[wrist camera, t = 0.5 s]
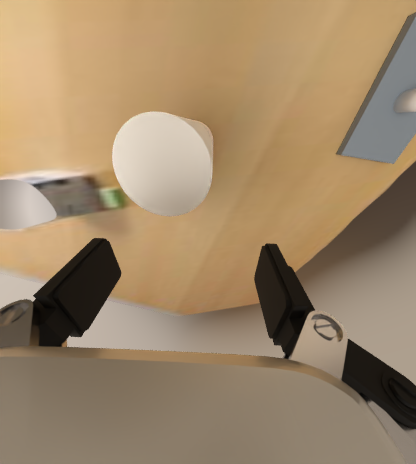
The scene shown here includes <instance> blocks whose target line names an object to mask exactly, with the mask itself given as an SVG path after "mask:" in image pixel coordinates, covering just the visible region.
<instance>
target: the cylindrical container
mask: <svg viewBox="0 0 416 464" xmlns="http://www.w3.org/2000/svg"><path fill="white" fill-rule="evenodd" d="M112 160H113V167H114V171H115V174H116V177H117V179H118V182H119V184H120V185H121V187H122V188H123V190H124V192H125V193H126V194H127V195H128V196H129V197H130V199H131V200H133V201H134V202H135V203H136V204H137V205H139V206H140V207H142V208H143V209H145V210H147V211H149V212H151V213H154V214H158V215H162V216H179V215H182V214H185V213H188V212H190V211H192V210H193V209H195V208H196V207H197V206H198V205H200V204H201V202H202V201H203V200H204V199H205V197H206V195H207V193H208V191H209V189H210V185H211V182H212V171H213V136H212V133H211V131H210V129H209V128H208V126H206V125H205V124H204V123H202V122H200V121H196V120H192V119H188V118H184V117H180V116H176V115H173V114H169V113H165V112H155V111H152V112H146V113H141V114H139V115H137V116H134V117H132V118H131V119H130V120H128V121H127V122H126V123H125V124H124V125H123V126H122V127H121V129H120V130H119V132H118V133H117V136H116V138H115V141H114V144H113V151H112Z"/></svg>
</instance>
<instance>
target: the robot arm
mask: <svg viewBox="0 0 416 464" xmlns="http://www.w3.org/2000/svg"><path fill="white" fill-rule="evenodd" d="M120 277H121V270H120V267H119V265H118V262H117V260H116V257H115V255H114V252H113V250H112V247H111V245H110V242H109V241H107V240H106V239H104V238H94V239H92V240H91V241H90V242H89V243H88V244H87V245H86V246H85V247H84V248H83V249H82V250H81V251H80V252H79V253H78V254H77V255H76V256H75V257H73V258H72V259H71V260H70V261H69V262H68V263H67V264H66V265H65V266H64V267H63V268H62V269H61V270H60V271H59V272H58V273H57V274H56V275H54V276H53V277H52V278H51V279H50V280H49V281H48V282H47V283H46V284H45V285H44V286H43V287H42V288H41V289H40V290H39V291H38V292H37V293H35V294H34V295H33V296H34V297H35V298H36V299H35V300H34V301H33V302H32V301H31V300H27V299H24V300H19V301H16V302H13V303H11V304H8V305H6V306H5V307H3V308H1V309H0V464H416V386H415V385H414V384H413V383H412V382H411V381H410V380H409V379H407V378H406V377H405V376H403V375H402V374H400V373H399V372H397V371H396V370H394V369H393V368H391V367H390V366H388V365H387V364H385V363H384V362H382V361H381V360H379V359H378V358H376V357H375V356H373V355H372V354H370V353H369V352H367V351H366V350H364V349H363V348H361V347H360V346H358V345H357V344H355V343H354V342H352V341H351V340H350V339H348V336H347V332H346V330H345V328H344V327H343V326H342V324H341V323H340V322H339V321H338V320H337V319H336V318H334V317H333V316H332V315H330V314H328V313H326V312H323V311H315V309H314V307H313V305H312V304H311V302H310V300H309V298H308V296H307V294H306V293H305V291H304V289H303V287H302V285H301V283H300V282H299V280H298V278H297V276H296V275H295V272H294V270H293V269H292V267H290V266H288V265H287V263H286V261H285V259H284V257H283V255H282V253H281V252H280V250H279V248H278V246H277V244H265V246H262V249H261V253H260V257H259V261H258V265H257V269H256V272H255V277H254V280H255V285H256V289H257V293H258V297H259V300H260V304H261V308H262V312H263V316H264V319H265V324H266V327H267V332H268V335H269V337H270V338H272V339H273V342H274V345H281V347H282V350H283V352H284V353H285V354H284V356H283V358H275V357H266V356H251V355H236V354H217V353H197V352H176V351H153V350H130V349H105V348H104V349H103V348H78V347H67V338H68V337H69V335H70V336H71V337H82V335H83V333H84V332H85V331H86V330H87V329H89V327H90V326H91V324H92V322H93V321H94V319H95V317H96V316H97V314H98V313H99V311H100V309H101V308H102V306H103V305H104V303H105V301H106V300H107V298H108V296H109V295H110V293H111V291H112V290H113V288H114V287H115V285H116V283H117V282H118V280H119V278H120Z"/></svg>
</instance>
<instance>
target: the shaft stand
mask: <svg viewBox="0 0 416 464" xmlns="http://www.w3.org/2000/svg"><path fill="white" fill-rule="evenodd" d="M415 134H416V12H415V13H414V14H412V15H410V16H408V18H407V20H406V22H405V23H404V25H403V27H402V29H401V31H400V33H399V35H398V37H397V39H396V41H395V43H394V44H393V46H392V48H391V50H390V52H389V54H388V56H387V58H386V60H385V62H384V64H383V66H382V67H381V69H380V71H379V73H378V75H377V77H376V79H375V81H374V83H373V85H372V87H371V89H370V90H369V92H368V94H367V96H366V98H365V100H364V102H363V104H362V106H361V108H360V110H359V111H358V113H357V115H356V117H355V119H354V121H353V123H352V125H351V127H350V129H349V131H348V133H347V134H346V136H345V138H344V140H343V142H342V144H341V146H340V148H339V150H338V152H337V154H339V155H344V156H350V157H356V158H362V159H368V160H374V161H380V162H386V163H392V164H394V163H395V161H396V160H397V159H398V157H399V156H400V154H401V153H402V152H403V150H404V149H405V147H406V146H407V145H408V143H409V142H410V140H411V139H412V138H413V136H414V135H415Z"/></svg>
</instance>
